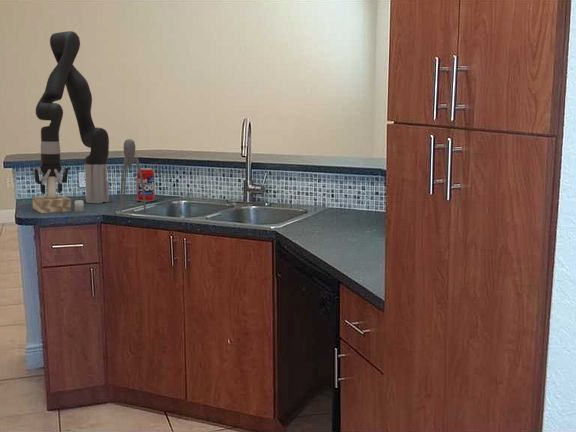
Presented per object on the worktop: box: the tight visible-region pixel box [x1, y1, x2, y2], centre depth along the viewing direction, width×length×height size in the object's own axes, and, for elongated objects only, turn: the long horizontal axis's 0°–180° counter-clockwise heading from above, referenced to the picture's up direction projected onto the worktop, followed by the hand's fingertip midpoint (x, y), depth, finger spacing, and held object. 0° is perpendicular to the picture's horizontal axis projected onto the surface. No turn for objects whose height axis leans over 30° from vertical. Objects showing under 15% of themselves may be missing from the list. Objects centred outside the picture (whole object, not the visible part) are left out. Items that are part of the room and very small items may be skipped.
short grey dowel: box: [74, 199, 85, 213], centre depth 294 cm, size 4×4×4 cm
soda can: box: [136, 167, 155, 203], centre depth 326 cm, size 8×8×15 cm
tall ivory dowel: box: [46, 177, 57, 199], centre depth 295 cm, size 4×4×14 cm
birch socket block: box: [31, 195, 72, 214], centre depth 296 cm, size 12×12×5 cm
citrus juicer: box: [119, 138, 147, 213], centre depth 295 cm, size 11×10×30 cm
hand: (51, 193), depth 295 cm, fingers open, 6 cm apart
